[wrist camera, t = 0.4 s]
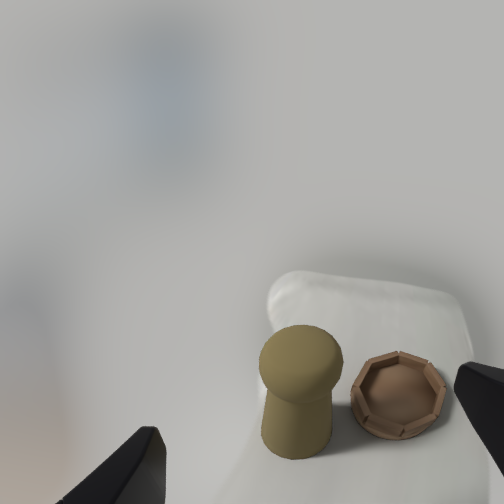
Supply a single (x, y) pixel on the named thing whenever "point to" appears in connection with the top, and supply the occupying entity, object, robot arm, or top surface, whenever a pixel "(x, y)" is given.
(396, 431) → the walnut stand
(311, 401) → the cork
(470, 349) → the top surface
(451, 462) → the top surface
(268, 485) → the top surface
